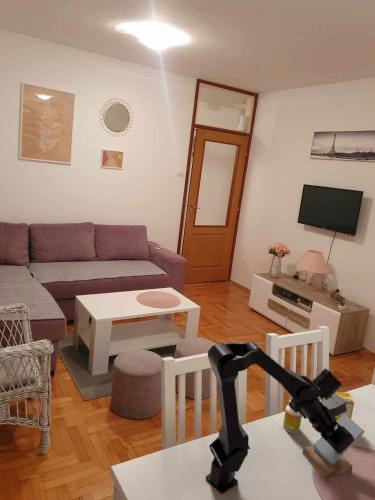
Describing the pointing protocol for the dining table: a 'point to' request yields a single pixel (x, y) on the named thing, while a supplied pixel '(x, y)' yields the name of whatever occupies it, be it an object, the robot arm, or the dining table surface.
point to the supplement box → (349, 404)
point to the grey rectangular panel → (327, 450)
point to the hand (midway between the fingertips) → (336, 439)
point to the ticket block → (322, 466)
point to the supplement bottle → (292, 420)
